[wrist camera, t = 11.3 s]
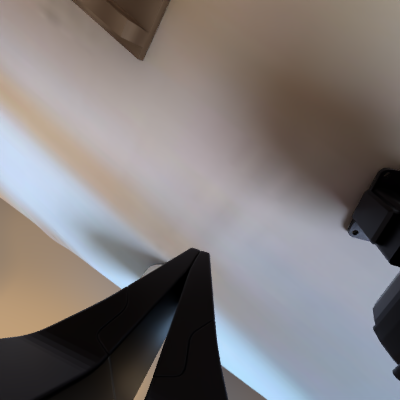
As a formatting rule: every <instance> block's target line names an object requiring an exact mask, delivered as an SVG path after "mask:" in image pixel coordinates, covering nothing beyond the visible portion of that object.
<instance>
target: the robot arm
mask: <svg viewBox="0 0 400 400" xmlns="http://www.w3.org/2000/svg"><path fill="white" fill-rule="evenodd" d="M387 172H389V175H388V176H387V177H384V174H385V173H387ZM352 217H353V220H352V222H351V224H350V226H349V228H348V230H347V231H348V233H349V235H350V236H352V237H355V238H358V239H362V240H366V241H370V242H371V243H372V244H375V245H376V246H377V247H378V248H379V250H380V251H381V252H382V254H383V255H384V256H385V258H386V259H387V260H388V262H389V263H390V264H391V265H394V266H398V267H400V170H396V169H391V168H384V169H382V170H380V171H379V172H378V174H377V176H376V178H375V180H374V181H373V183H372V185H371V187H370V189H369V190H368V191H366V192H365V193H364V195H363V197H362V198H361V200H360V202H359V204H358V206H357V208H356V210H355V212H354V213H353V215H352ZM354 230H357V232H355V233H352V231H354ZM373 314H374V321H375V326H374V327H373V329H374V331H375V333H376V335H377V337H378V339H379V341H380V342H381V344H382V345H383V347H384V348H385V349H386V351H387V352H388V353H389V355H390V356H391V357H392V359H393V360H394V361H395V362H396V363H397V364H398V366H397V367H396V368H395V369H394V370H393V374H394V376H395V377H396V378H397V379H398V380H399V381H400V272H399V273H398V274H397V276H396V277H395V278H394V280H393V281H392V282H391V284H390V285H389V286H388V287H387V289H386V290H385V291H384V293H383V294H382V295H381V297H380V298H379V299H378V301H377V302H376V304H375V306H374V308H373ZM166 336H167V337H166ZM165 338H166V340H165ZM164 340H165V343H164V345H163V349H162V351H161V354H160V357H159V360H158V363H157V366H156V369H155V372H154V375H153V378H152V381H151V384H150V386H149V390H148V392H147V394H146V397H145V399H144V400H228V397H227V392H226V387H225V382H224V377H223V373H222V368H221V363H220V357H219V351H218V344H217V336H216V325H215V314H214V302H213V289H212V277H211V264H210V254H209V253H207V252H204V251H200V250H198V249H195V248H190V249H188V250H187V251H185V252H183V253H182V254H180V255H178V256H177V257H175V258H173V259H172V260H170V261H168V262H167V263H165V264H163V265H162V266H160V267H158V268H157V269H155V270H153V271H152V272H150V273H148V274H147V275H145V276H143V277H142V278H140V279H138V280H137V281H135V282H134V283H132V284H130V285H129V286H128V287H125V288H123V289H122V290H120V291H118V292H117V293H115V294H113V295H112V296H110V297H108V298H106V299H104V300H103V301H100V302H98V303H97V304H94V305H93V306H91V307H89V308H86V309H84V310H82V311H80V312H78V313H76V314H74V315H72V316H70V317H68V318H66V319H64V320H62V321H60V322H58V323H56V324H53V325H51V326H50V327H47V328H45V329H43V330H40V331H37V332H35V333H31V334H28V335H24V336H18V337H10V338H2V339H0V400H133V399H134V397H135V396H136V394H137V392H138V390H139V388H140V386H141V384H142V382H143V380H144V378H145V376H146V374H147V372H148V370H149V369H150V367H151V365H152V363H153V361H154V359H155V357H156V355H157V353H158V351H159V350H160V348H161V346H162V344H163V342H164Z"/></svg>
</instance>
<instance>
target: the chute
mask: <svg viewBox="0 0 400 400" xmlns="http://www.w3.org/2000/svg"><path fill="white" fill-rule="evenodd" d="M72 1H73V2H74V3H75V4H77V5H78V6H79V7H80V8H81V9H82V10H83V11H84V12H86V13H87V14H88V15H89V16H90V17H91V18H92V19H93V20H95V21H96V22H97V23H98V24H99V25H100V26H101V27H102V28H104V29H105V30H106V31H107V32H108V33H109V34H110V35H111V36H113V37H114V38H115V39H116V40H117V41H118V42H119V43H120V44H122V45H123V46H124V47H125V48H126V49H127V50H128V51H129V52H131V53H132V54H133V55H134V56H135V57H136V58H137V59H139V60H142V61H143V59H144V57H145V55H146V52H147V50H148V48H149V46H150V43H151V41H152V39H153V37H154V35H155V32H156V30H157V28H158V26H159V24H160V21H161V19H162V17H163V15H164V12H165V10H166V8H167V6H168V4H169V1H170V0H72Z"/></svg>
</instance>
